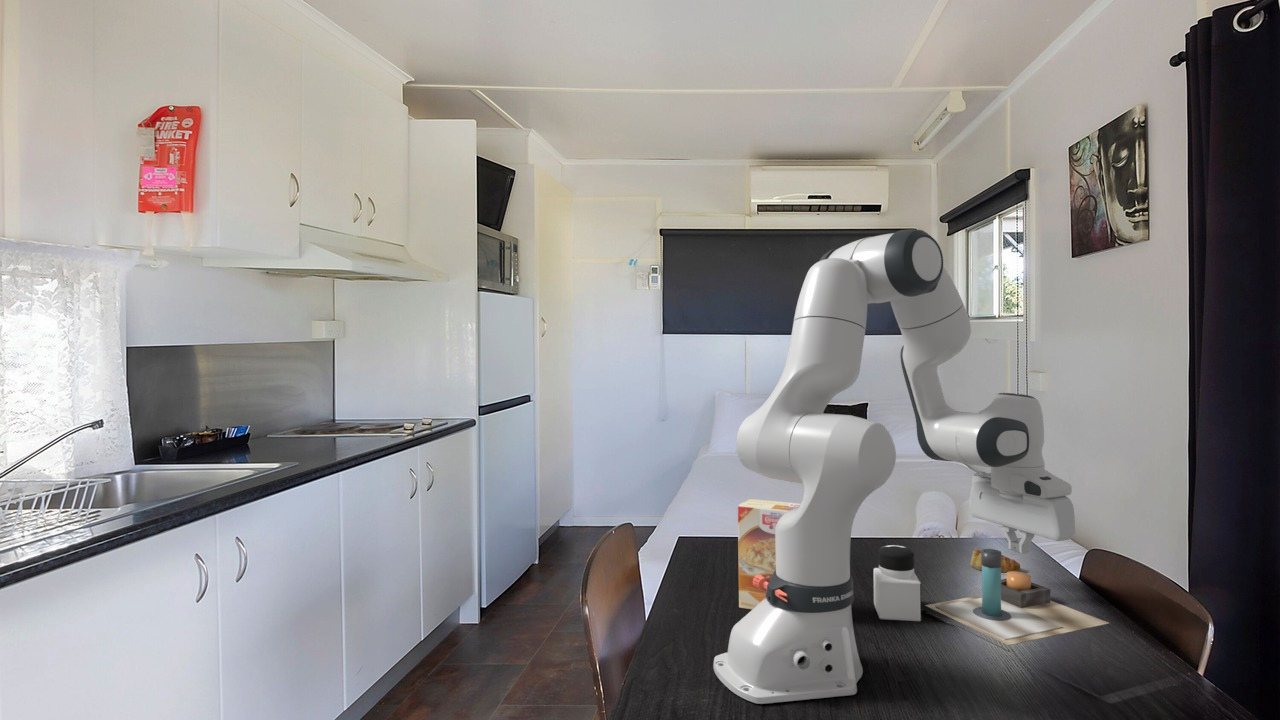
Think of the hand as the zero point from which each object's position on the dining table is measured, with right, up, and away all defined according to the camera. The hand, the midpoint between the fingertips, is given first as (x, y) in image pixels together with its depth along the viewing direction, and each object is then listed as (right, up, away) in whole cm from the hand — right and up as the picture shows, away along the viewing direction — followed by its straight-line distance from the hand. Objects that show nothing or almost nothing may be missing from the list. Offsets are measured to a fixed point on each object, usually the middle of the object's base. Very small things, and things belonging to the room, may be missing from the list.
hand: (1018, 551), depth 126 cm
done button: (0, -7, 0) cm, 7 cm away
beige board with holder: (-5, -10, -7) cm, 13 cm away
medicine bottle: (-24, -11, -4) cm, 27 cm away
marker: (-9, -9, -8) cm, 15 cm away
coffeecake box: (-45, -11, 0) cm, 46 cm away
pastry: (+6, -10, +20) cm, 23 cm away
